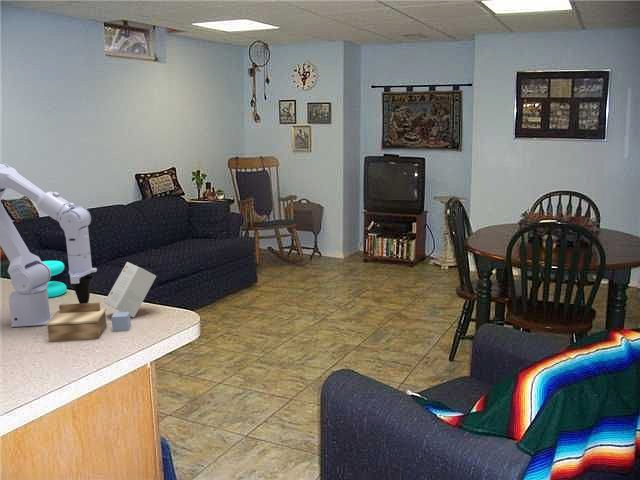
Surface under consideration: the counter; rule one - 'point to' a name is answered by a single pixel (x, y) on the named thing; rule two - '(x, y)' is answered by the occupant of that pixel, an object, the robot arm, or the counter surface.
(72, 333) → the wooden box
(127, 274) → the small box
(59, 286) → the donuts
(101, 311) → the lid
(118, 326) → the block
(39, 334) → the counter surface
